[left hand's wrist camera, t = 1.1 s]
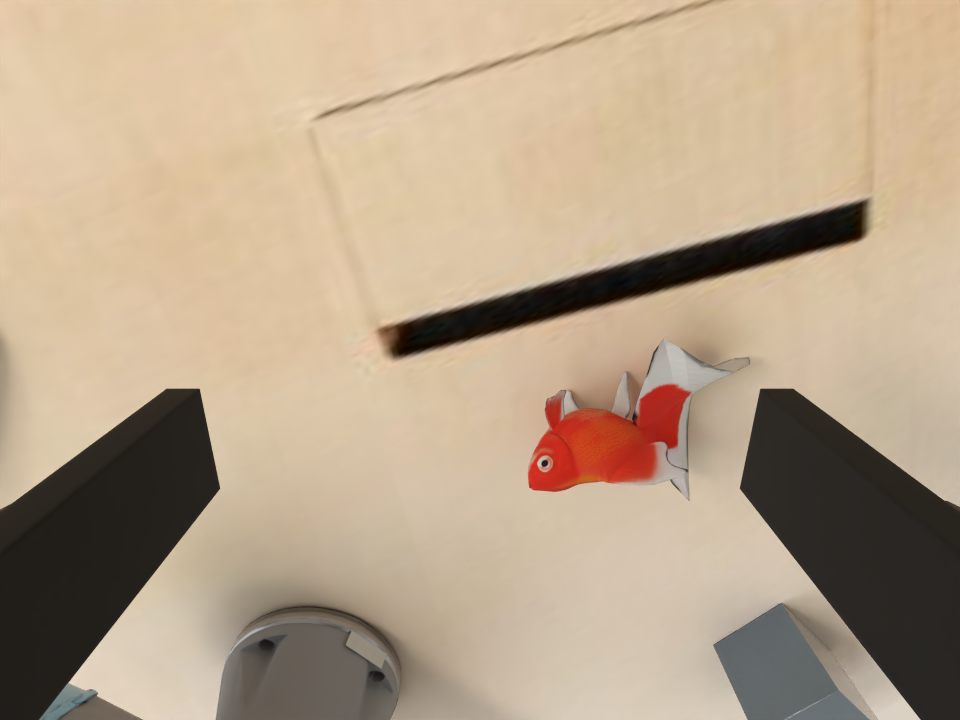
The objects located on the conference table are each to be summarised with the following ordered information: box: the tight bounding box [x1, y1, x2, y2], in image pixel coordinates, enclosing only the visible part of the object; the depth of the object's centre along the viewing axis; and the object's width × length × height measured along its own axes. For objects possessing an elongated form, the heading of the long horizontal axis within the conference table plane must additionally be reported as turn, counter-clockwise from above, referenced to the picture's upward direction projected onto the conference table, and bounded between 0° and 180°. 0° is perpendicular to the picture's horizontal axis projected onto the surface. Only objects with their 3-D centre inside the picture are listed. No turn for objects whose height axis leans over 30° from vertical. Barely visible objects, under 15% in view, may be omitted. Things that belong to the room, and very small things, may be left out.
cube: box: [714, 603, 878, 720], centre depth 43 cm, size 7×8×8 cm
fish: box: [528, 339, 750, 501], centre depth 34 cm, size 11×16×10 cm
